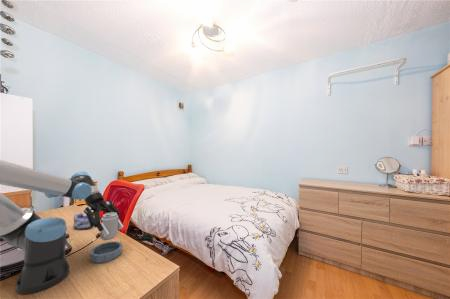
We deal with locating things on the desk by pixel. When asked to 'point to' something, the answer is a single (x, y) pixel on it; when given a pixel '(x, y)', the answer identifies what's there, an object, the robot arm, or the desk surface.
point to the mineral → (81, 221)
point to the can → (110, 225)
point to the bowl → (106, 252)
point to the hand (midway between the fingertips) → (114, 231)
